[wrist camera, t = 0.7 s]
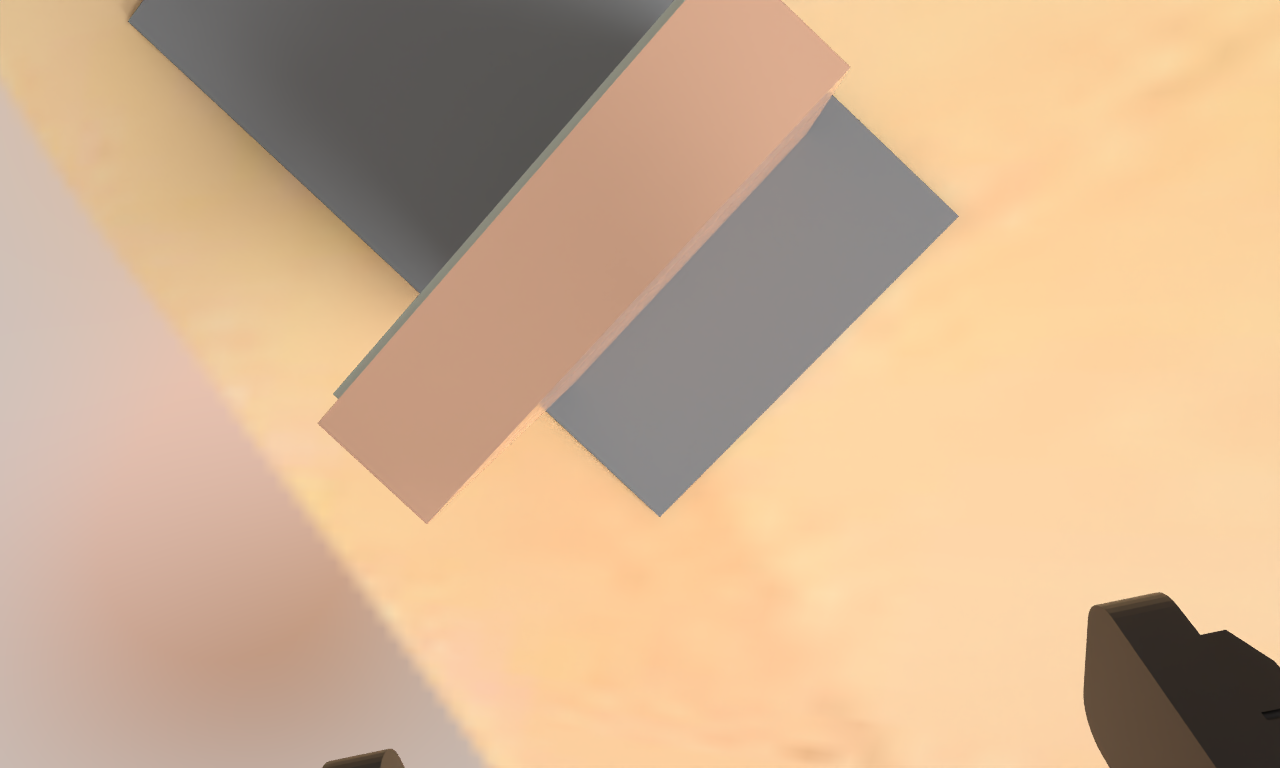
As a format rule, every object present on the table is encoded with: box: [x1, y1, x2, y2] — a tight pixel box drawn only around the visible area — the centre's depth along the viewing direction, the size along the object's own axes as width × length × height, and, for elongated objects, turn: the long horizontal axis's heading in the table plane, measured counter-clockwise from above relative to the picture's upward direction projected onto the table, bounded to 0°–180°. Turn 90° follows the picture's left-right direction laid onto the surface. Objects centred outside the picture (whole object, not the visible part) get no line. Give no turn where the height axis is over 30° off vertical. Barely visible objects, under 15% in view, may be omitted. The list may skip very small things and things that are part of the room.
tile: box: [318, 0, 850, 524], centre depth 23 cm, size 10×3×14 cm, turn 137°
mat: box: [128, 0, 959, 517], centre depth 30 cm, size 12×22×1 cm, turn 47°
